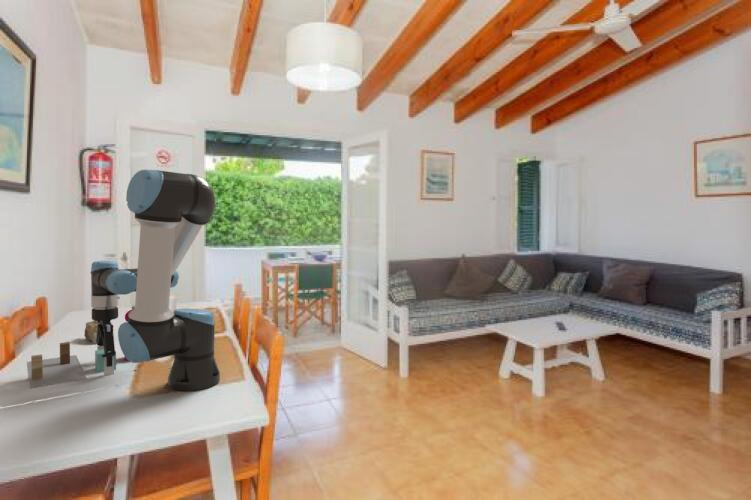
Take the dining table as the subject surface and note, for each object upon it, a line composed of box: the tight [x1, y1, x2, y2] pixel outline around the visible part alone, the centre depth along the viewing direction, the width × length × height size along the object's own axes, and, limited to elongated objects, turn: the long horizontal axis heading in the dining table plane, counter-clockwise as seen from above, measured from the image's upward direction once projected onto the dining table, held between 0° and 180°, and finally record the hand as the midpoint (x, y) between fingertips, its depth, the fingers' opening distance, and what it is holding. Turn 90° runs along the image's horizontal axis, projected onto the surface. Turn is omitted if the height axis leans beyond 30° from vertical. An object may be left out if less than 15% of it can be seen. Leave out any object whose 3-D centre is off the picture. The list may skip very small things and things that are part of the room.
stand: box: [26, 354, 88, 389], centre depth 142 cm, size 30×14×1 cm, turn 40°
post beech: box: [30, 354, 43, 380], centre depth 134 cm, size 3×3×7 cm
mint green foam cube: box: [94, 349, 117, 373], centre depth 144 cm, size 5×5×7 cm
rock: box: [84, 320, 98, 345], centre depth 179 cm, size 12×7×10 cm, turn 46°
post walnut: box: [59, 341, 71, 365], centre depth 148 cm, size 3×3×7 cm
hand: (105, 370), depth 144 cm, fingers open, 13 cm apart
